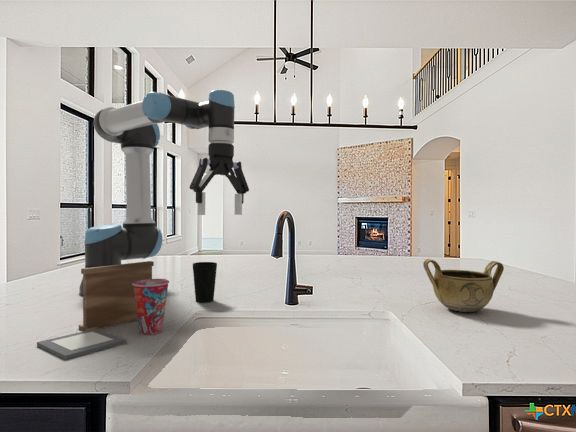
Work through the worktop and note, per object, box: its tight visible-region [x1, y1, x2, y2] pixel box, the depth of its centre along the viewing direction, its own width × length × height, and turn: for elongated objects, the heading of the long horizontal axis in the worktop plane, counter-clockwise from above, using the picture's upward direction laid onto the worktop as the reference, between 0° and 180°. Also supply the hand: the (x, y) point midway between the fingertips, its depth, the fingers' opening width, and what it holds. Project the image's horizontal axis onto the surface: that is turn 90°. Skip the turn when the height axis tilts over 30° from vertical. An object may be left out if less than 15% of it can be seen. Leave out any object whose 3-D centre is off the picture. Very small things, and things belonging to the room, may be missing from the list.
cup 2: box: [192, 261, 218, 304], centre depth 133 cm, size 8×8×12 cm
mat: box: [36, 329, 128, 360], centre depth 90 cm, size 13×13×1 cm
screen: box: [78, 260, 155, 332], centre depth 106 cm, size 6×19×15 cm, turn 143°
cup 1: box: [132, 278, 170, 336], centre depth 100 cm, size 9×8×12 cm
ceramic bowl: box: [422, 258, 505, 313], centre depth 123 cm, size 22×17×15 cm
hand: (220, 214), depth 125 cm, fingers open, 13 cm apart
